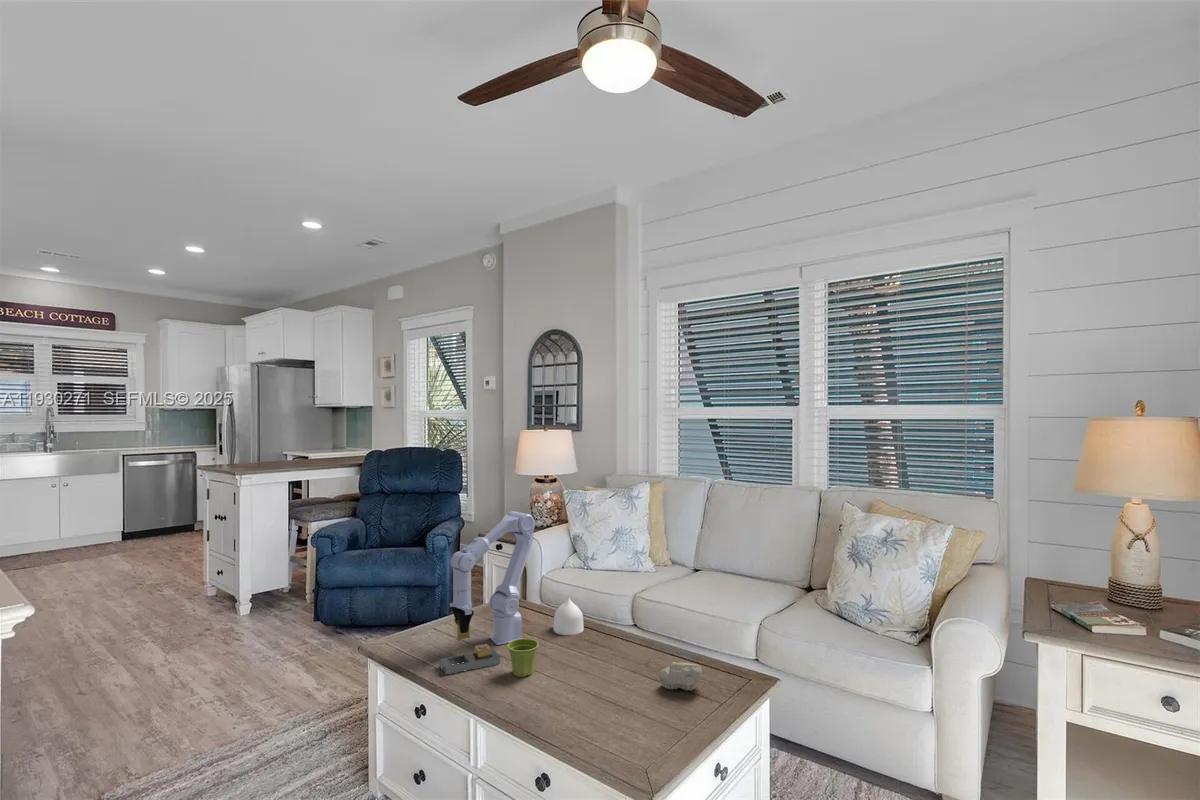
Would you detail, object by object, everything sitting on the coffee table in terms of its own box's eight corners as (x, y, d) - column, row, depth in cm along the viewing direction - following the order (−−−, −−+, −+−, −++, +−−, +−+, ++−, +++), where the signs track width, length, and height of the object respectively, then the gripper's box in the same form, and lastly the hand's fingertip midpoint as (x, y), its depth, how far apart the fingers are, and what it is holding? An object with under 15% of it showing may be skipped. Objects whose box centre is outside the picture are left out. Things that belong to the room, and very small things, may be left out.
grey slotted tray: (492, 656, 195) (492, 648, 195) (499, 664, 189) (499, 656, 189) (440, 666, 187) (440, 659, 187) (445, 675, 181) (446, 667, 181)
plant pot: (533, 681, 177) (533, 651, 177) (502, 678, 179) (503, 649, 179) (542, 667, 186) (542, 639, 186) (513, 665, 188) (513, 637, 188)
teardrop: (566, 637, 211) (566, 603, 211) (547, 629, 219) (547, 596, 219) (589, 630, 219) (590, 597, 219) (570, 622, 227) (570, 590, 227)
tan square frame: (486, 659, 193) (486, 643, 193) (490, 664, 189) (490, 647, 189) (474, 662, 191) (474, 645, 191) (478, 666, 187) (478, 649, 187)
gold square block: (465, 633, 201) (465, 617, 201) (469, 637, 197) (469, 621, 197) (454, 636, 199) (453, 620, 199) (457, 640, 195) (457, 623, 195)
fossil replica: (654, 683, 177) (667, 702, 167) (653, 656, 176) (666, 673, 166) (692, 675, 180) (707, 693, 170) (691, 648, 179) (706, 665, 169)
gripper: (444, 585, 203) (444, 625, 202) (456, 596, 190) (456, 639, 190) (465, 581, 206) (465, 621, 206) (477, 593, 193) (477, 635, 193)
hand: (462, 630), depth 198 cm, fingers closed on gold square block, 4 cm apart
